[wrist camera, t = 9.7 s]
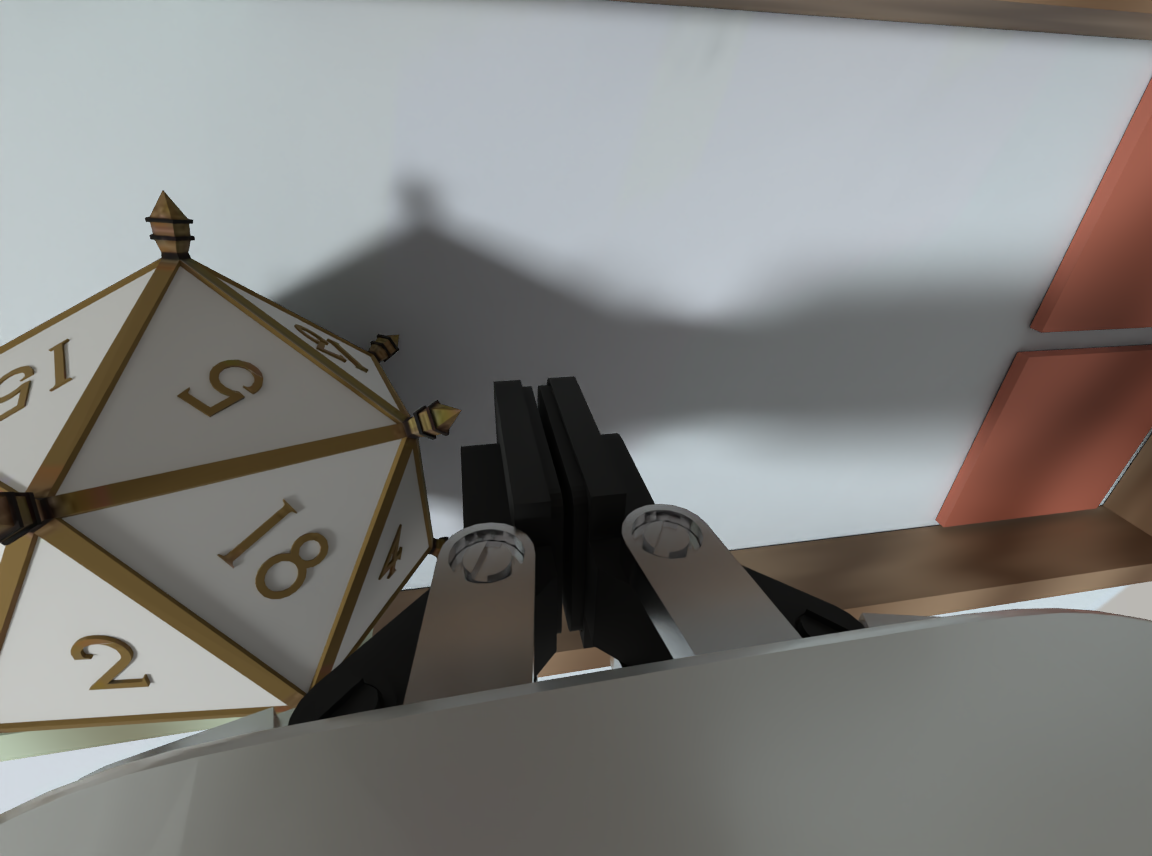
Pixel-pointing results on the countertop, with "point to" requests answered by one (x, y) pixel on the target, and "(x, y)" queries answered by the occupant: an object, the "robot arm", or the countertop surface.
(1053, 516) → the rectangular wooden frame
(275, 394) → the game die
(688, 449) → the countertop surface
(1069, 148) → the countertop surface
